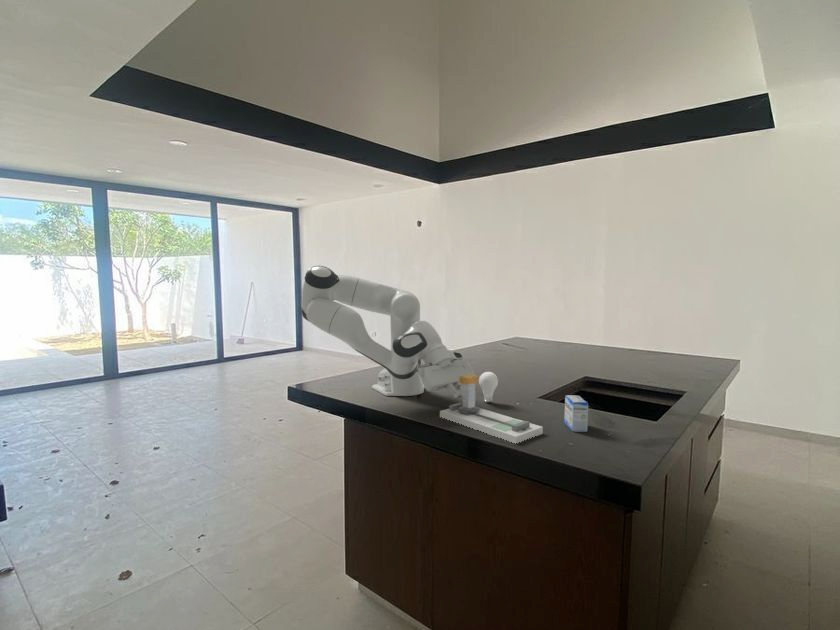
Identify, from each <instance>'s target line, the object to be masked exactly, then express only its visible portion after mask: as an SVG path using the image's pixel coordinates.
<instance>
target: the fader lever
mask: <svg viewBox="0 0 840 630" xmlns="http://www.w3.org/2000/svg"><path fill="white" fill-rule="evenodd" d="M479 378H480V375H476V374H475V375H472V374H469V375H464V376H460V383H463V385H462V390H463V397H462V402H463V407H460V408H458V412H461V413H464V414H467V415H468V414H471V413H475V412H478V411H480V408H481V407H480V406H476V384H478V383H479Z"/></svg>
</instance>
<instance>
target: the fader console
mask: <svg viewBox="0 0 840 630" xmlns="http://www.w3.org/2000/svg"><path fill="white" fill-rule="evenodd" d="M448 407H449V408H447V409H442V410H439V418H441V417H442V418H441V419H444V418H445V419H444V420H446V419H447V421H449V420H450V422H452V421H453V423H455V422H456V423H455V424H458V423H459V424H458V425H461V424H462V425H461V426H463V425H464V426H463V427H466V426H467V428H469V427H470V429H472V428H473V429H472V430H475V431H477V430H479V431H478V432H480V431H481V432H480V433H483V432H484V433H483V434H486V433H487V434H486V435H489V436H492V437H494V436H495V438H497V437H498V438H497V439H500V438H502V439H501V440H503V439H504V440H503V441H506V440H507V441H506V442H508V441H509V443H511V442H512V443H511V444H514V443H515V444H514V445H517V444H520V443H523V442H525V441H527V439H528V440H530V439H532V437H533V438H536V437H537V436H540V435H543V434H544V432H543V430H544V427H543V425H542V426H541V425H537V424H535V423H531V422H530V421H528V420H523V419H522V420H521V419H518V418H514V417H511V416H508V415H505V414H502V413H498V412H495V411H492V410H488V409H484V408H481V407H480V411H478V412H475V413H471V414H468V415H467V414H464V413H461V412H458V408H460V407H463V401H462V402H458V403H454V404H450V405H449V406H448ZM535 436H536V437H535ZM529 438H530V439H529ZM524 440H525V441H524ZM522 441H523V442H522ZM519 442H520V443H519ZM516 443H517V444H516Z"/></svg>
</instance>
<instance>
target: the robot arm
mask: <svg viewBox="0 0 840 630" xmlns="http://www.w3.org/2000/svg"><path fill="white" fill-rule="evenodd" d="M302 286H303V287H302V289H301V295H302V296H301V306H300V311H301V316H302V317H303V319H305V320H306V321H307V322H309V323H311V324H312V325H313V326H315V327H316V328H317V329H319V330H321V331H323V332H324V333H326V334H329V335H331V336H333V337H335V338H336V339H339V340H341V341H342V342H344V343H345V344H346V345H348V346H350V348H352V349H353V350H354V351H356V352H357V353H359V354H360V355H362V356H364V357H366V358H367V359H368V360H371V361H373V362H374V363H376V364H377V365H379V366H381V367H383V369H382V370H381V371H380V372H378V376H377V382H376V383H374V384H372V385H371V388H372V389H374V391H377V392H379V393H380V394H382V395H384V396H386V397H390V396H391V397H392V396H393V397H410V396H417V395H420V394H423V393H424V392H425V390H426V391H427V392H433V391H439V390H444V389H446V391H448V392H449V393H450V394H451V395H453V397H454V398H455V399H458V398H463V383H460V376H464V375H469V374H472V375H476V373H475V371H474V370H473V368H472V367H471V365H470V363H469V362H468V361H467V360H465V359H464V358H465V355H464V354H463V353H462V352H458V351H452V350H451V349H448V348H447V346H446V345H445V344H444V343H443V342H442V338H441V337H440V335H439V333H438V332H437V331H436V329H435V327H434V326H433V325H432V324H431V323H430V322H428V321H426V320H421V302H420V301H419V298H418V297H417V296H416V295H415V294H414V293H412V292H410V291H408V290H403V289H400V288H397V287H392V286H389V285H385V284H381V283H377V282H375V281H370V280H367V279H363V278H359V277H356V276H352V275H345V274H336V273H335V272H334V271H333V270H332V269H331V268H329V267H327V266H324V265H314V266H312V267H309V268H308V269H307V271H306V273H305V276H304V282H303V285H302ZM346 305H347V306H346ZM351 307H354V308H357V309H361V310H364V311H368V312H371V313H377V314H382V315H385V316H389V317H390V349H389V348H388V347H385V346H383V345H382V344H380V343H379V342H376V341H375V340H374V339H373V338H371V336H370V334H369V332H368V331H367V328H366V325H365V323H364V319H363V317H362V316H361V315H360V313H359V312H357V311H356V310H354V309H353V308H351ZM422 360H423V361H424V363H425V364H422V362H421V361H422Z"/></svg>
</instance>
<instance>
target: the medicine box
mask: <svg viewBox="0 0 840 630" xmlns="http://www.w3.org/2000/svg"><path fill="white" fill-rule="evenodd" d="M563 419H564V422H563V423H564V424H565V425H566V426H567V427H568V428H569V429H570V431H572V432H574V433H575V432H576V433H578V432H579V433H581V432H585V433H586V432H588V425H589V423H588V421H589V403H588V401H586V400H585V399H584V398H582V397H581V395H575V394H574V395H572V394H571V395H569V394H568V395H565V397H564V418H563Z"/></svg>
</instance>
